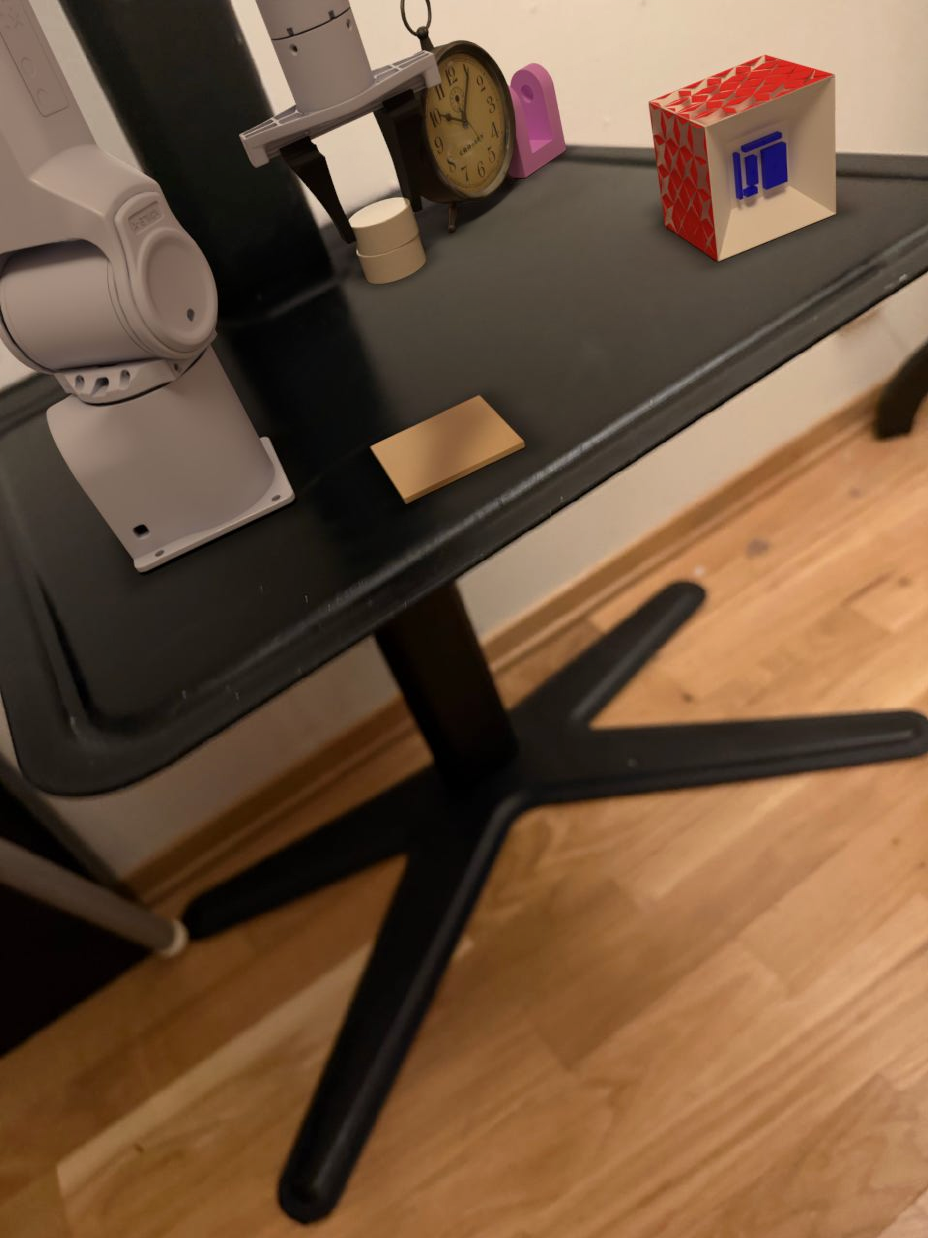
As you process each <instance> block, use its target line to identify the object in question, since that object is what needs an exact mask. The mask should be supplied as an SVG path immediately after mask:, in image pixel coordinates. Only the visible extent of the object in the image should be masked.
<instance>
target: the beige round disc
mask: <svg viewBox="0 0 928 1238" xmlns="http://www.w3.org/2000/svg"><path fill="white" fill-rule="evenodd" d="M422 243H423V242H422V240H421V237H420V234H419V232H418V234H417V235H416V237H415V238H414V239H412V240H411V241H410V242H408V243H407V244H405V245H404V246H402V247H400V248H398V249H395V250H393V251H390V252H387V253H384V254H380V255H374V256H364V255H361V254H359V253H358V251H357V250H356V251H355V253H356V256H357V259H358V261H359V264H360V266H361V269H362V272H363V274H364V278H365V280H366V281H367V282H368V283H369V284H373V285H384V284H385V285H386V284H390V283H393V282H397V281H400V280H403V279H405V278H408V277H409V276H412V275H413V274H415V273H416V272H418V271H419V270H420V269H422V267H423V266H424V265H425V263H426V262H427V256H426V252H425V249H424V246H423V244H422Z"/></svg>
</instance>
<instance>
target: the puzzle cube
mask: <svg viewBox="0 0 928 1238" xmlns="http://www.w3.org/2000/svg"><path fill="white" fill-rule="evenodd" d="M647 104H648V111H649V112H648V113H649V118H650V119H649V120H650V125H651V132H652V141H653V148H654V156H655V163H656V167H657V168H656V170H657V177H658V186H659V192H660V200H661V208H662V215H663V222H664V226H665V228H667V229H669V230H670V231H672V232H673V233H675V234H676V235H678V236H679V237H680V238H682V239H684V240H685V241H687V242H688V243H690V244H691V245H692V246H694V247H696V248H697V249H699V250H700V251H702V253H705V254H706V255H708V256H709V257H711V258H712V259H713V260H715V261H716V262H721V261H723V260H726V259H728V258H731V257H733V256H736V255H738V254H740V253H743V252H745V251H748V250H750V249H753V248H755V247H757V246H760V245H762V244H765V243H767V242H770V241H772V240H775V239H778V238H780V237H782V236H785V235H788V234H790V233H792V232H794V231H795V232H796V231H798V230H800V229H802V228H805V227H807V226H809V225H812V224H814V223H818V222H820V221H822V220H824V219H827V218H830V217H832V216H835V215H836V214H837V168H836V167H837V164H836V162H837V161H836V160H837V159H836V157H837V156H836V155H837V153H836V150H837V149H836V148H837V147H836V145H837V144H836V74H835V73H832V72H830V71H829V72H828V71H824V70H822V69H817V68H814V67H812V66H811V67H810V66H807V65H803V64H800V63H796V62H793V61H789V60H786V59H782V58H778V57H775V56H771V55H768V54H763V55H760V56H758V57H756V58H753V59H750V60H748V61H745V62H742V63H740V64H738V65H736V66H733V67H730V68H727V69H725V70H722V71H720V72H718V73H716V74H714V75H710V76H709V77H705V78H704V79H701V80H698V81H696V82H694V83H691V84H688V85H686V86H683V87H681V88H679V89H676V90H673V91H671V92H669V93H666V94H664V95H662V96H659V97H656V98H654V99H652V100H649V101H648V103H647Z"/></svg>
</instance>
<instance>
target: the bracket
mask: <svg viewBox="0 0 928 1238" xmlns="http://www.w3.org/2000/svg"><path fill="white" fill-rule="evenodd" d="M508 87H509V90H510V93H511V97H512V101H513V106H514V112H515V121H516V141H515V150H514V154H513V159H512V163H511V166H510V169H509V171H508V173H509V175H510V176H513V177H514V179H515V178H516V179H518V178H519V179H520V178H522V179H524V178H525V179H526V178H528V177H529V176H530V175H532V174H533V173H535V172H537V170H539V169H541V168H542V167H543V166H545V165H546V164H548V163H550V162H551V161H552V160H554V159H555V158H557V157H558V156H559V155H561V154H562V153H564V152H565V151H567V146H566V141H565V136H564V129H563V124H562V120H561V115H560V109H559V104H558V100H557V95H556V89H555V85H554V81H553V78H552V76H551V75H550V73H549V71H548V70H547V69H546V68H545V67H544V66H543V65H541V64H540V63H536V62H531V63H528V64H526V65H524V66H523V67H522V68H520V69H518V70H516V71H515V73H513V75H512V77H511V80H510V85H509V84H508Z"/></svg>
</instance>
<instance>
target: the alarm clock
mask: <svg viewBox="0 0 928 1238" xmlns="http://www.w3.org/2000/svg"><path fill="white" fill-rule="evenodd" d="M405 1H406V0H400V3H399V8H400V15H401V20H402V22H403V25H404V27H405V29H406V30H407V31H408V32H409V33H410V34H411V35H412V36H414V37H416V38H417V39H418V40H419V45H420V51H417V52H416V53H414V54H413V55H415V54H417V53H419V52H422V51H424V50H425V51H428V52H430V53H433V54H434V56H435V60H436V63H437V67H438V70H439V74H440V77H441V81H442V83H441V84H439V85H437V86H434V87H432V88H429V89H428V88H424V89H422V90H419V91H417V92H415V93H414V95H415V99H417V100H419V101H420V102H421V105H422V109H423V123H422V128H421V136H420V146H419V182H420V193H421V198H424V199H425V200H427V201H429V202H430V203H431V202H432V203H435V204H438V205H439V204H440V205H448V209H447V214H448V223H449V224H448V226H447V231H448V232H449V233H454V232H455V231H456V229H457V227H456V225H455V223H456V220H457V215H458V205H460V204H462V203H469V202H470V203H471V202H480V201H484V200H487V199H488V198H490V197H492V195H494V194H495V193H496V192H497V191H499V189H500V188H501V186H502V185H503V183H504V182H505V180H506V181H507V183H508V184H511V185H512V184H514V183H515V178H514V177H513V176H510V175H509V173H508V171H509V169H510V166H511V163H512V159H513V154H514V150H515V141H516V121H515V112H514V106H513V101H512V97H511V93H510V90H509V87H508V85H509V84H508V82H507V79H506V77H505V76H504V73H503V71H502V70H501V68H500V66H499V64H498V63H497V61H495V59H494V58H493V56H492V55H491V54H490V53H489V52H488V51H487V50H486V49H485V48H483V47H482V46H480V45H479V44H477V43H476V42H473V41H469V40H465V39H457V40H452V41H450V42H448V43H445V44H441V45H436V46H434V44H433V42H432V40H431V38H430V36H429V34H430V30H429V29H430V27H431V24H432V14H433V13H432V5H431V1H430V0H424V1H425V4H426V7H427V8H426V9H427V21H426V24H425V25H422V26H419V27H418V28H417V29H416V31H415V30H413V29H412V27H411V26H410V24H409V22H408V20H407V16H406V11H405Z"/></svg>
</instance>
